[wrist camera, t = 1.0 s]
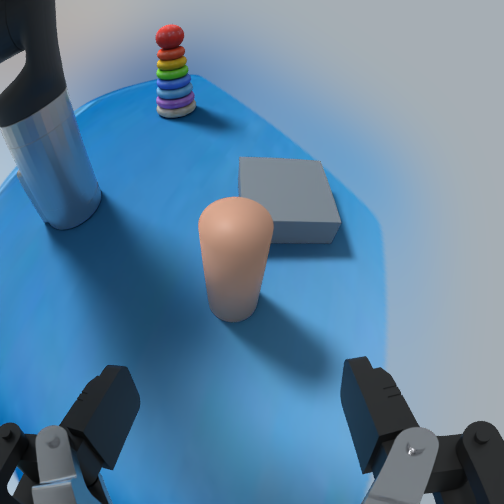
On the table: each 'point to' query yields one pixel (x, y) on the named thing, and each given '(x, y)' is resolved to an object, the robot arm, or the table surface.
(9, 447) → the robot arm
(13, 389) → the table surface
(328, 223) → the slate base block
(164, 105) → the stacking toy
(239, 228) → the terracotta peg
